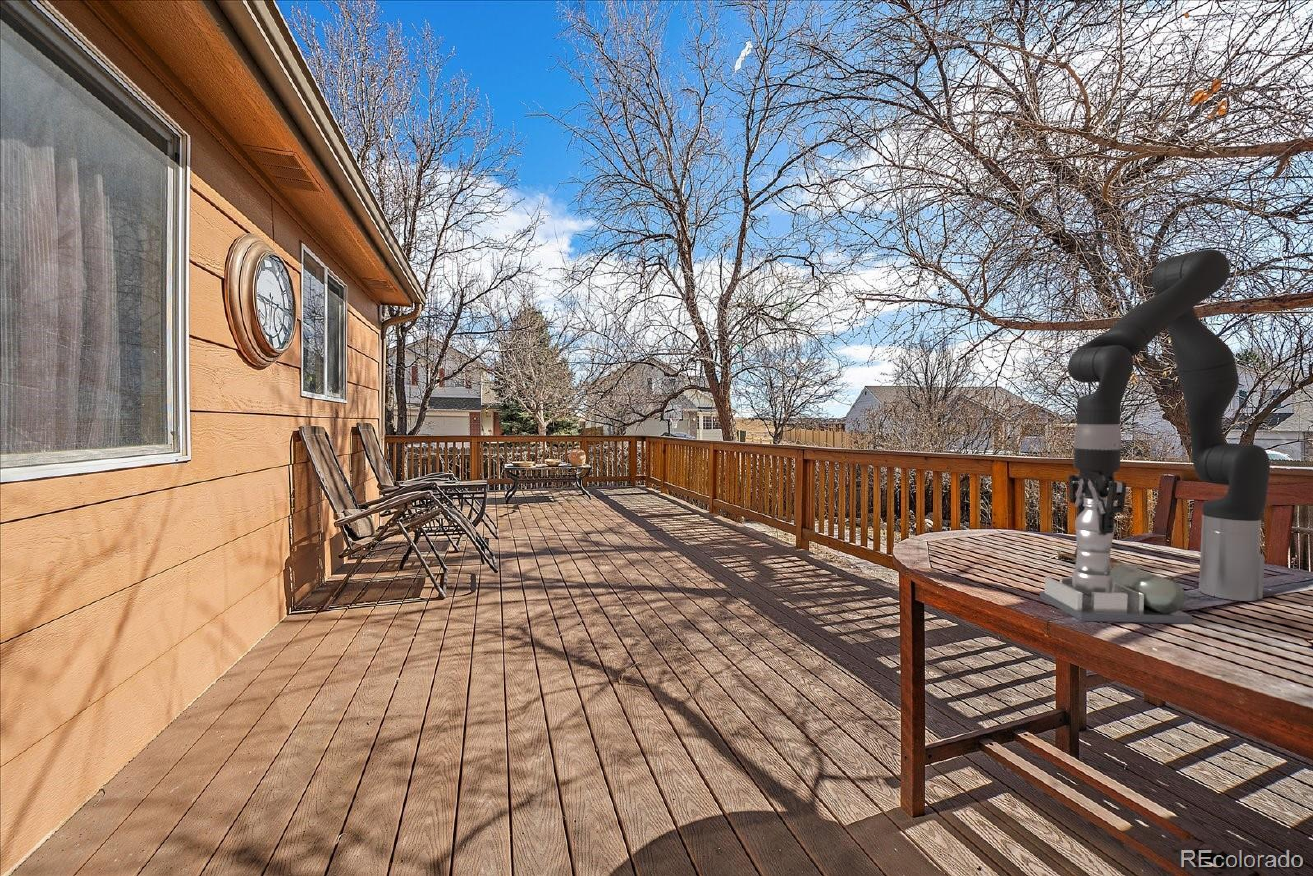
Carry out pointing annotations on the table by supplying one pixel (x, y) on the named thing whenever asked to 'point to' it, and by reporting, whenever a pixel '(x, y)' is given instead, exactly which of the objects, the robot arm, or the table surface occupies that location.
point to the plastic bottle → (1092, 552)
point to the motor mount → (1121, 598)
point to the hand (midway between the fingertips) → (1094, 529)
